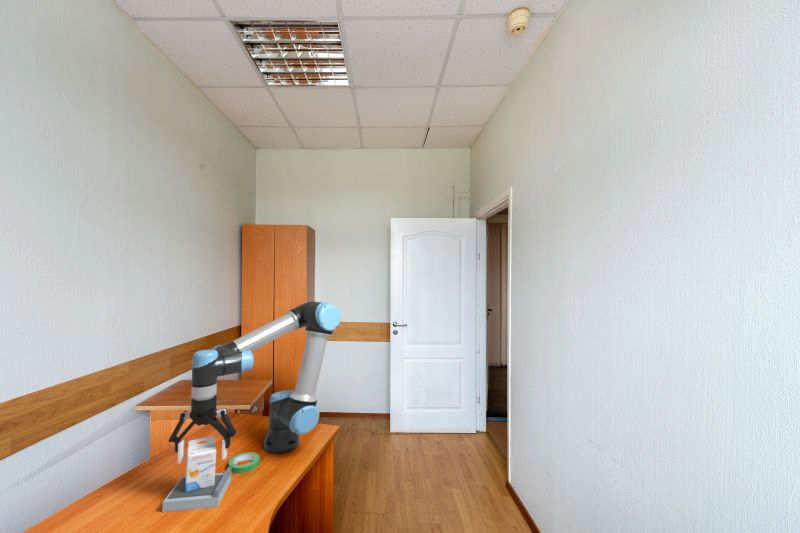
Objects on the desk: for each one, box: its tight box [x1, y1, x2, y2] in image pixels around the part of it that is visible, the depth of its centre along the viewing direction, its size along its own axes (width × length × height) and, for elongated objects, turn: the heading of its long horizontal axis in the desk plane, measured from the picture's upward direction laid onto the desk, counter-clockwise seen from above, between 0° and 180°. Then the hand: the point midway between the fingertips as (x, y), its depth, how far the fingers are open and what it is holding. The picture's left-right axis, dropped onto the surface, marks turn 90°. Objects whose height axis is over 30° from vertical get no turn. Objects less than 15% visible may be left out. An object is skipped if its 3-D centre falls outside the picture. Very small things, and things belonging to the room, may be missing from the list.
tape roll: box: [227, 451, 260, 475], centre depth 131 cm, size 11×11×3 cm
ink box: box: [185, 435, 217, 492], centre depth 113 cm, size 8×5×15 cm, turn 123°
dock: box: [161, 467, 232, 513], centre depth 112 cm, size 16×14×5 cm
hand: (202, 459), depth 113 cm, fingers open, 13 cm apart
